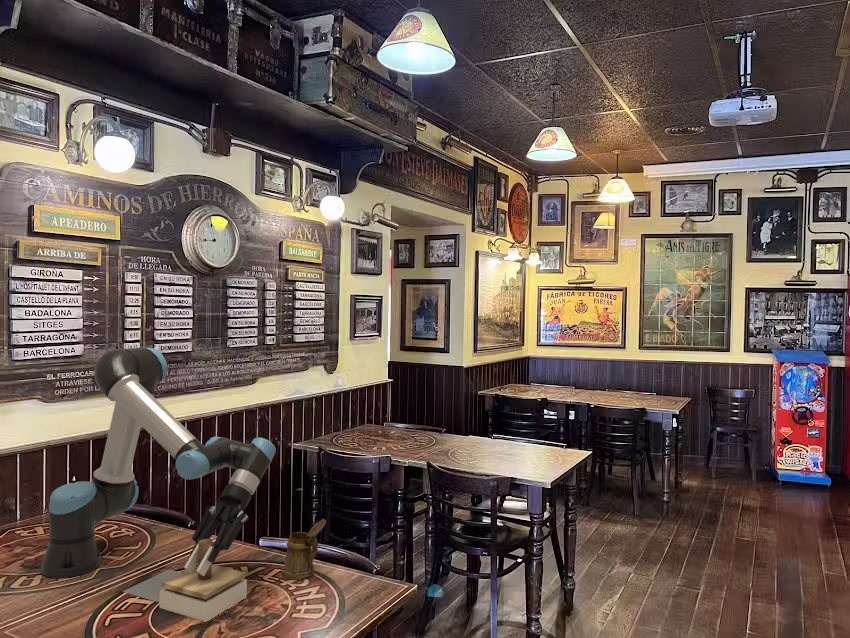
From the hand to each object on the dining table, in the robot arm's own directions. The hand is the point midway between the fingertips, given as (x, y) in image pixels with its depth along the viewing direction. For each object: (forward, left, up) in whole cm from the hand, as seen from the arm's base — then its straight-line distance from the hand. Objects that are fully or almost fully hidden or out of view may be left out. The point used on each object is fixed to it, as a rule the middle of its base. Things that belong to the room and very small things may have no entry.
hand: (194, 571), depth 159 cm
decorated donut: (0, +4, -10) cm, 11 cm away
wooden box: (0, +4, -10) cm, 11 cm away
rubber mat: (-16, +6, -10) cm, 19 cm away
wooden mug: (+12, +30, -10) cm, 34 cm away
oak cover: (0, +4, -4) cm, 6 cm away
